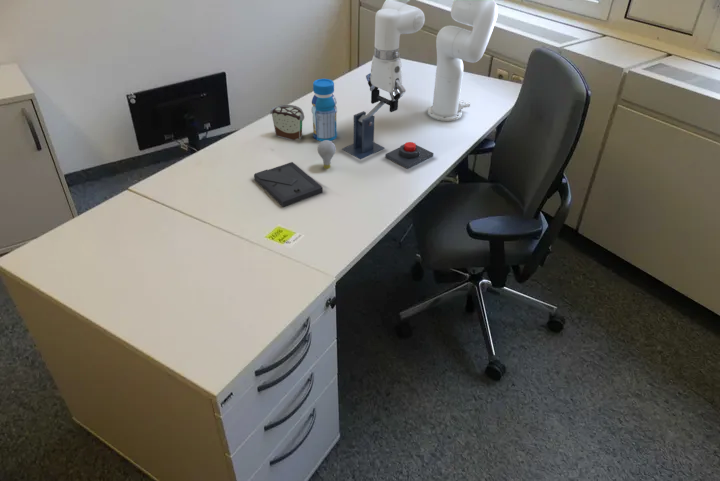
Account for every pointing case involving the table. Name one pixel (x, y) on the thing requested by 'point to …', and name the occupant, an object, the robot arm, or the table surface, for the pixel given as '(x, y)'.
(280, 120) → the food container
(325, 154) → the light bulb
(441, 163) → the table surface
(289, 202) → the picture frame
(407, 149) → the stop button
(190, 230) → the table surface
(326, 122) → the beverage bottle
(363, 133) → the switch bracket
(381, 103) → the switch lever
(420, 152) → the button housing
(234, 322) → the table surface
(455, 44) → the robot arm
